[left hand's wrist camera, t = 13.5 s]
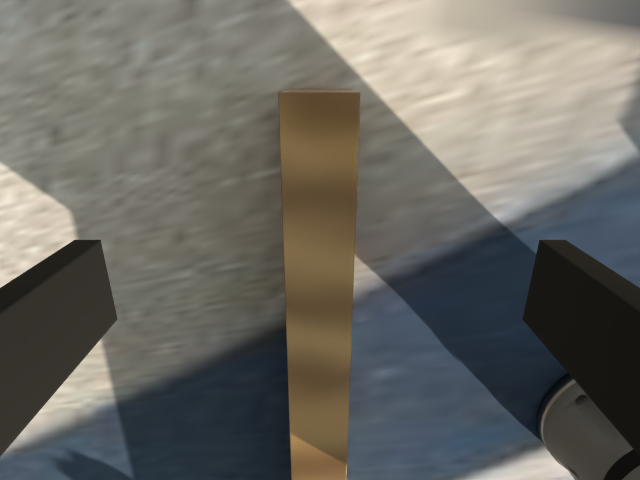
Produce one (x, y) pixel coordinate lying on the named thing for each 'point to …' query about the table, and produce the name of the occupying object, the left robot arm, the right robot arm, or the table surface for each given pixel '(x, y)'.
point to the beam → (319, 272)
